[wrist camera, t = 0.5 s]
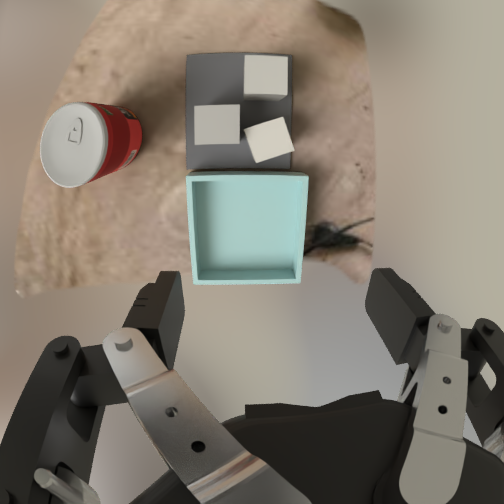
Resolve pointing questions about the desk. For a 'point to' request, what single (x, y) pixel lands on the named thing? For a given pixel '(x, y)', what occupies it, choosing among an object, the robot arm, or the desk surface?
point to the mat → (230, 93)
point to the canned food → (88, 142)
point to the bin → (246, 226)
